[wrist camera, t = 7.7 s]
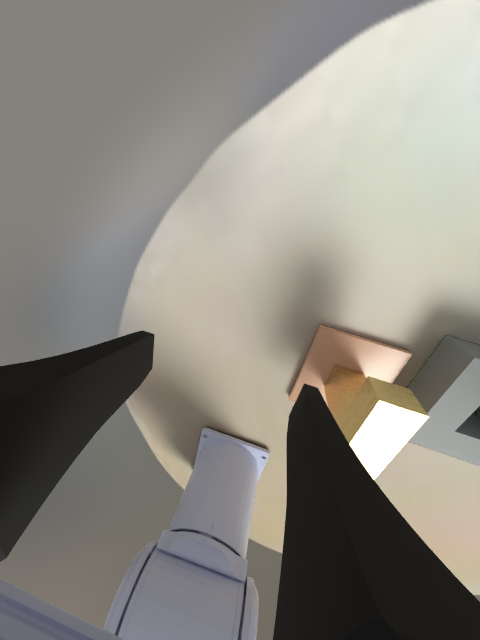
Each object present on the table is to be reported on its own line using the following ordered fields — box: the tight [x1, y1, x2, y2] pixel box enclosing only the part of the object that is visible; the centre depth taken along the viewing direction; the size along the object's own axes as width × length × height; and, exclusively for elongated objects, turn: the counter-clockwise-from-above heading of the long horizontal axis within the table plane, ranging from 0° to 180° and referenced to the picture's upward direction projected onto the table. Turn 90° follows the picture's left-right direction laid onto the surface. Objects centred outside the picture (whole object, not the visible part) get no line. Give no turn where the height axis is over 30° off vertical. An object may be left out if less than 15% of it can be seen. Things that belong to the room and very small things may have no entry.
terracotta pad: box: [289, 325, 412, 404], centre depth 19 cm, size 8×7×1 cm
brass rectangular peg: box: [324, 364, 429, 479], centre depth 16 cm, size 8×2×7 cm, turn 167°
